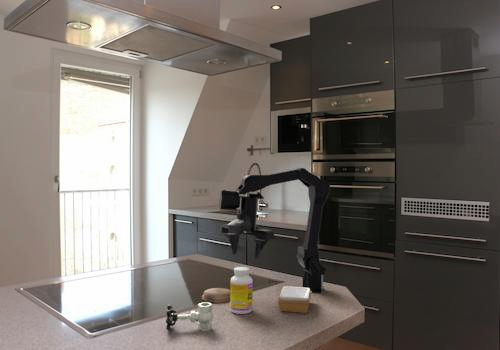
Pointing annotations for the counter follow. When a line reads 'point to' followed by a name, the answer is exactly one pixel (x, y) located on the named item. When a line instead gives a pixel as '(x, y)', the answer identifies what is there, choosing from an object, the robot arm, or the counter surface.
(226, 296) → the beige saucer
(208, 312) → the valve
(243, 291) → the supplement bottle
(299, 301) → the soap dish
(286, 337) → the counter surface
